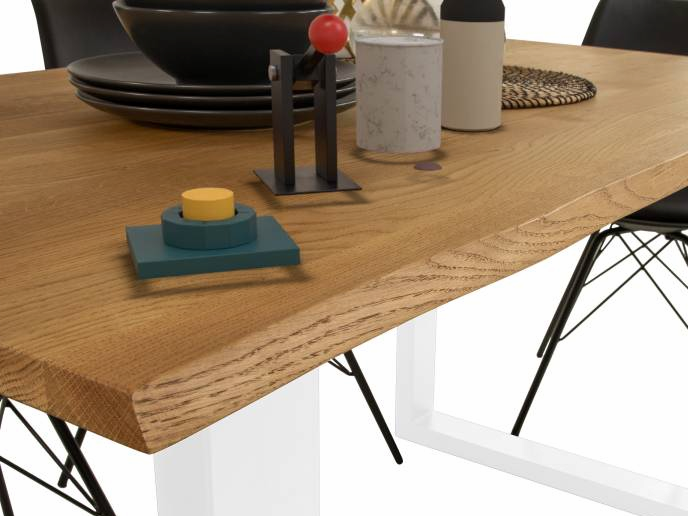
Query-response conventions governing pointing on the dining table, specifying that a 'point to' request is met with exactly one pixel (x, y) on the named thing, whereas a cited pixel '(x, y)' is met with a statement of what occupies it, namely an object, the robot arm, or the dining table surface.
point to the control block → (209, 244)
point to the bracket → (284, 172)
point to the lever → (318, 49)
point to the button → (208, 204)
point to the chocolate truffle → (427, 166)
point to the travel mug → (472, 63)
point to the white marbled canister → (398, 93)
